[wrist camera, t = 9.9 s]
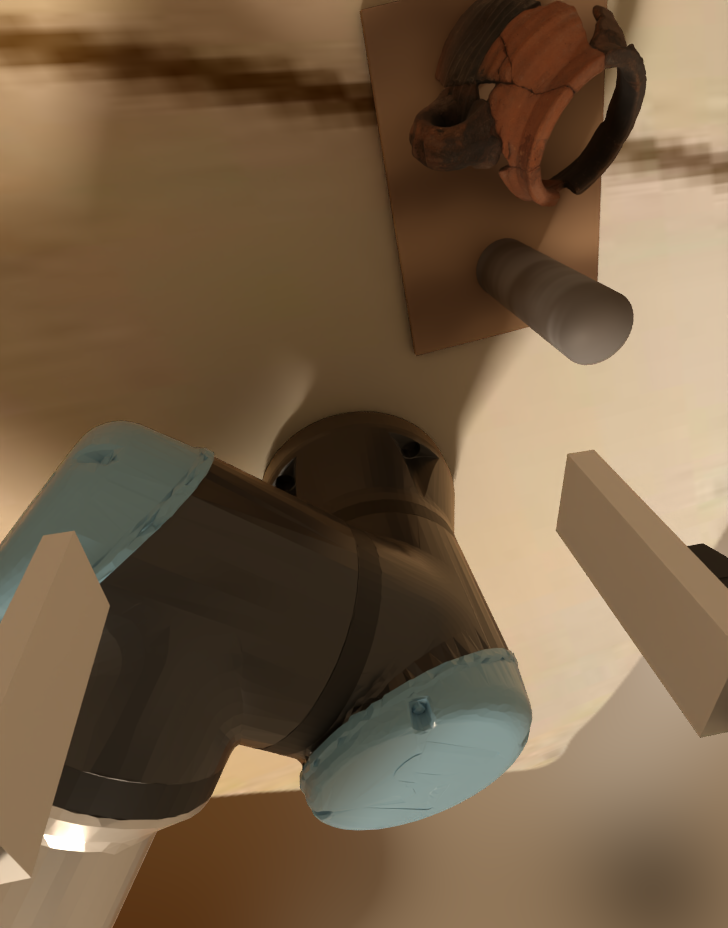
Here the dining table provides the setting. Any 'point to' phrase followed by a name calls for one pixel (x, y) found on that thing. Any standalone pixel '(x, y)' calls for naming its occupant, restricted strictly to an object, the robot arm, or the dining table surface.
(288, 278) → the dining table surface
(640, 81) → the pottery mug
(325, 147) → the dining table surface
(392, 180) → the brown board with post
